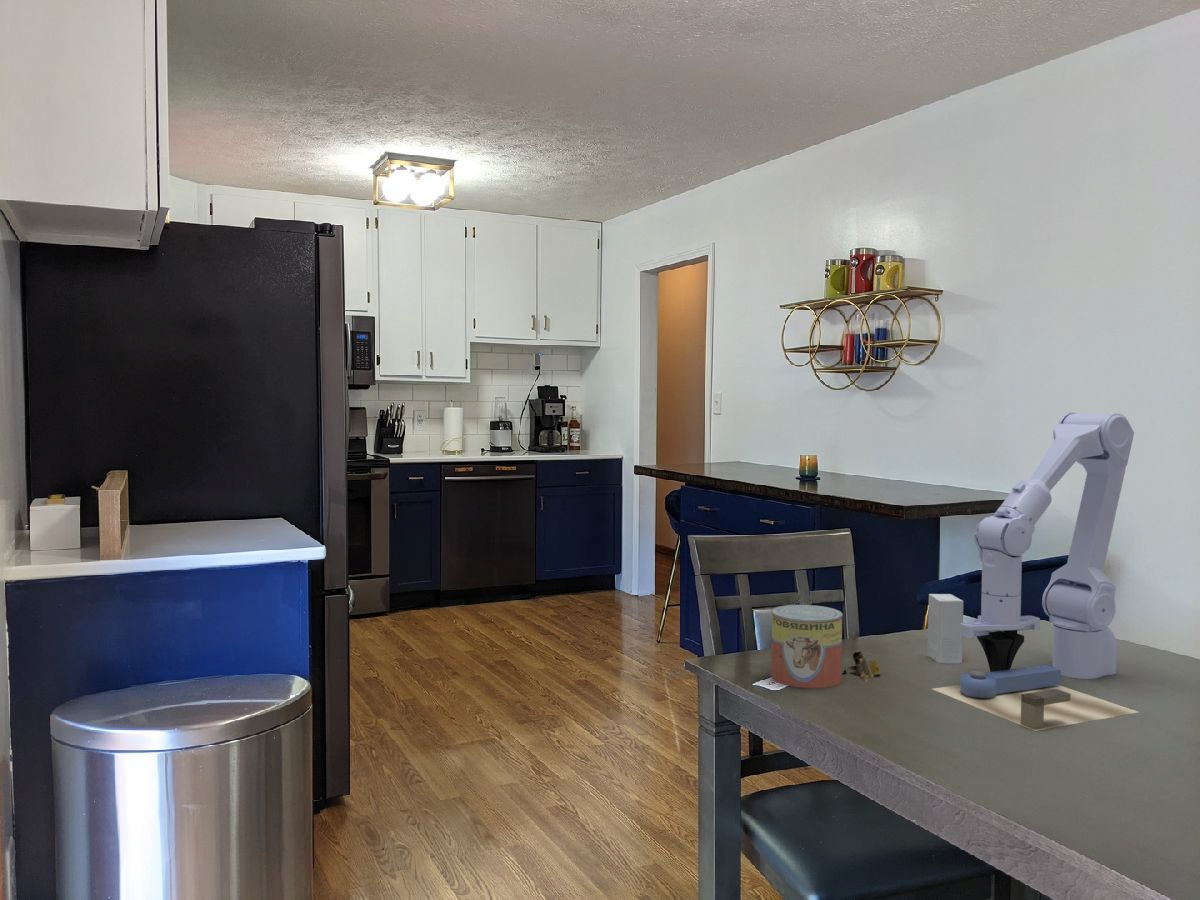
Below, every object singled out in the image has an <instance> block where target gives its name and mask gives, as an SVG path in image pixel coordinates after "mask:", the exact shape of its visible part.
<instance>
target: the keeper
mask: <svg viewBox="0 0 1200 900" xmlns="http://www.w3.org/2000/svg"><path fill="white" fill-rule="evenodd" d="M1070 695H1071V694H1070V693H1067V692H1064V691H1061V690H1058V689H1052V690H1046V691H1039V692H1033V693H1027V694H1021V725H1024V726H1026V727H1029V728H1031V729H1034V730H1036V729H1042V728H1043V726H1044V705H1048V704H1054V703H1061V702H1067V701H1070ZM1021 725H1020V726H1021ZM1024 726H1023V727H1024ZM1026 727H1025V728H1026ZM1029 728H1028V729H1029ZM1031 729H1030V730H1031ZM1034 730H1033V731H1034Z"/></svg>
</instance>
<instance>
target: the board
mask: <svg viewBox="0 0 1200 900" xmlns="http://www.w3.org/2000/svg"><path fill="white" fill-rule="evenodd" d="M1052 689H1058V690H1061V691H1064V692H1067V693H1070V694H1071V695H1070V701H1067V702H1061V703H1054V704H1048V705H1044V726H1043V728H1042V729H1036V730H1034V729H1031V728H1029V727H1026V726H1024V725H1021V694H1027V693H1033V692H1039V691H1046V690H1052ZM931 690H933V691H935V692H937V693H939V694H942V695H945V696H947V697H950V698H952V699H955V700H957V701H960V702H962V703H964V704H968V705H970V706H972V707H975V708H977V709H979V710H981V711H985V712H986V713H989V714H992V715H994V716H997V717H999V718H1002V719H1004V720H1007V721H1010V722H1012V723H1015V724H1016V725H1020V726H1022V727H1024V728H1027V729H1029V730H1032V731H1034V732H1037V731H1044V730H1049V729H1054V728H1061V727H1066V726H1071V725H1077V724H1082V723H1089V722H1092V721H1093V722H1094V721H1100V720H1106V719H1110V718H1111V719H1112V718H1117V717H1122V716H1123V717H1124V716H1128V715H1132V714H1133V715H1134V714H1139V713H1140V711H1137V710H1135V709H1132V708H1128V707H1125V706H1122V705H1119V704H1116V703H1114V702H1110V701H1109V700H1108V701H1107V700H1104V699H1103V698H1099V697H1095V696H1093V695H1090V694H1088V693H1083V692H1081V691H1078V690H1075V689H1073V688H1072V689H1071V688H1069V687H1066V686H1063V685H1061V684H1060V685H1056V686H1049V687H1042V688H1035V689H1028V690H1021V691H1014V692H1007V693H1001V694H996V695H995V696H994V697H991V698H977V697H971V696H967V695H964V694H962V693H961V692H960V684H955V685H948V686H942V687H935V688H931Z"/></svg>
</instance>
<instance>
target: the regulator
mask: <svg viewBox="0 0 1200 900" xmlns="http://www.w3.org/2000/svg"><path fill="white" fill-rule="evenodd" d="M852 659H853V662H854V664H855V666H856V669H855V671H851V672H847V669H844V670H843V671H842V673H841V675H847V674H848V675H857V676H859V677H860V679H861V680H862V681H863V682H865V683H868V682H869V680H870V679H871V678H874V676H878V675H879V674H881V672H882V670H881V667H880V665H879V662H878V660H874V659H873V660H868V658H866V657H864V655H863V651H861V650H859V651H856V652H855V651H854V652H853V653H852Z"/></svg>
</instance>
